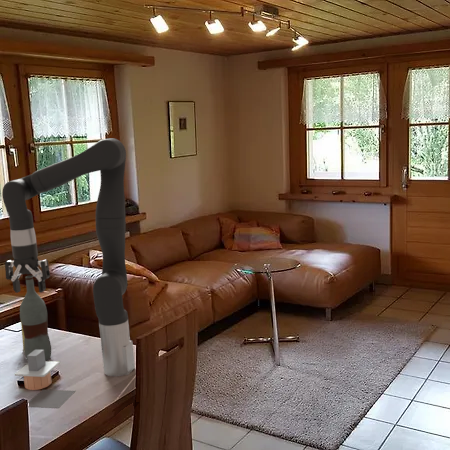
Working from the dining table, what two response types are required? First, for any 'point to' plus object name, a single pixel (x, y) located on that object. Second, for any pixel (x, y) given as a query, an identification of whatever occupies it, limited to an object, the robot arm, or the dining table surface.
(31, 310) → the bottle
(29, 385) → the bowl
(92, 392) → the dining table surface
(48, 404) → the mat
